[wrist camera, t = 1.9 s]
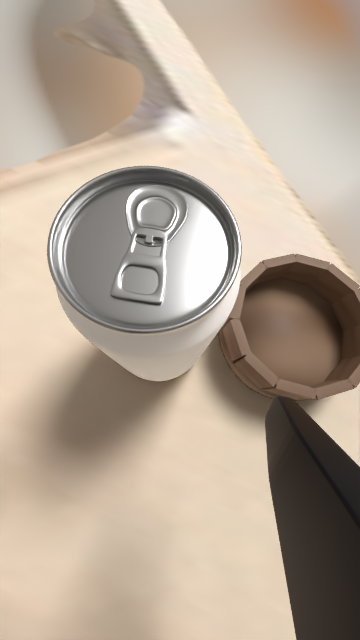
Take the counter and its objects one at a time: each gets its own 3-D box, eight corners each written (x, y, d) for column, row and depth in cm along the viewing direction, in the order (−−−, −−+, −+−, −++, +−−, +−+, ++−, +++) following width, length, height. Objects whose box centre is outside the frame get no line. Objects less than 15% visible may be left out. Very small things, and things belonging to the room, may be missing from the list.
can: (207, 303, 20) (262, 172, 8) (196, 388, 18) (249, 369, 6) (125, 290, 20) (67, 140, 8) (105, 374, 18) (-6, 327, 6)
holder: (366, 380, 19) (409, 376, 15) (242, 416, 17) (259, 420, 14) (313, 265, 21) (340, 240, 18) (203, 290, 20) (210, 269, 17)
